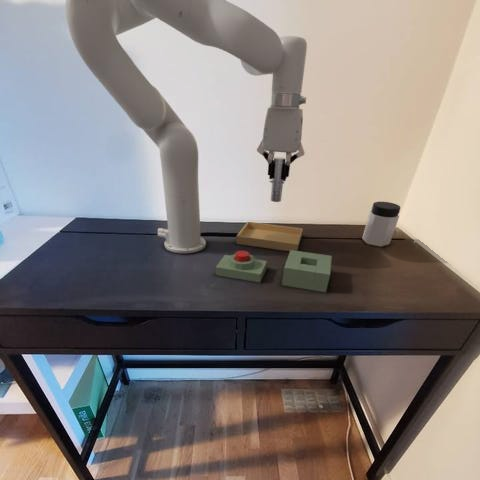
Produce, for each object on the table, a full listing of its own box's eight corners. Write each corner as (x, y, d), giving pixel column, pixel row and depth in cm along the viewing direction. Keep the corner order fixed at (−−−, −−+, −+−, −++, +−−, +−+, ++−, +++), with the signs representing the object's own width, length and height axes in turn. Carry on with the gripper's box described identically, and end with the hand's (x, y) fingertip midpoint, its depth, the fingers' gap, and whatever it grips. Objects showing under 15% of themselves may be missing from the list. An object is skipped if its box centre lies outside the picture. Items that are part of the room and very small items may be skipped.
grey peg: (267, 201, 93) (270, 158, 86) (270, 197, 96) (273, 156, 90) (281, 203, 92) (286, 160, 85) (284, 199, 96) (288, 157, 89)
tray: (236, 243, 99) (236, 235, 97) (247, 228, 110) (247, 221, 109) (296, 252, 95) (297, 244, 94) (301, 236, 106) (302, 228, 105)
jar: (377, 248, 100) (389, 210, 93) (357, 239, 105) (367, 203, 98) (394, 243, 104) (407, 206, 97) (373, 235, 109) (384, 200, 102)
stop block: (215, 275, 82) (215, 261, 79) (224, 262, 88) (224, 249, 86) (260, 282, 79) (261, 268, 77) (266, 269, 86) (267, 255, 83)
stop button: (233, 261, 81) (233, 255, 80) (237, 256, 83) (237, 249, 82) (247, 263, 80) (247, 257, 79) (250, 257, 83) (250, 251, 82)
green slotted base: (281, 285, 79) (284, 267, 76) (288, 266, 87) (290, 249, 84) (325, 292, 77) (330, 274, 74) (327, 272, 85) (331, 255, 82)
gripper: (319, 103, 81) (307, 178, 92) (257, 100, 84) (253, 173, 95) (316, 103, 75) (304, 184, 86) (250, 100, 78) (247, 178, 89)
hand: (277, 178), depth 91 cm, fingers closed on grey peg, 3 cm apart
